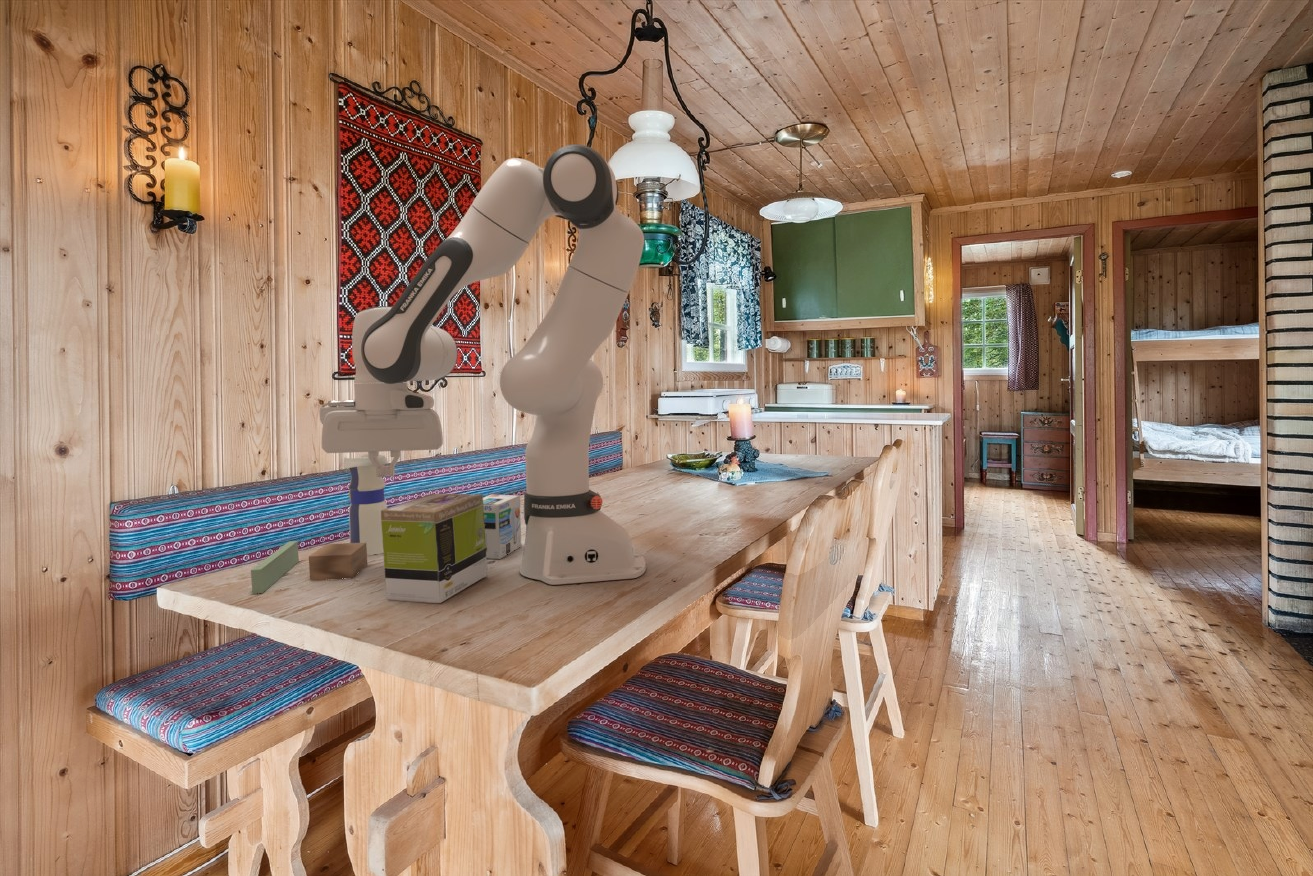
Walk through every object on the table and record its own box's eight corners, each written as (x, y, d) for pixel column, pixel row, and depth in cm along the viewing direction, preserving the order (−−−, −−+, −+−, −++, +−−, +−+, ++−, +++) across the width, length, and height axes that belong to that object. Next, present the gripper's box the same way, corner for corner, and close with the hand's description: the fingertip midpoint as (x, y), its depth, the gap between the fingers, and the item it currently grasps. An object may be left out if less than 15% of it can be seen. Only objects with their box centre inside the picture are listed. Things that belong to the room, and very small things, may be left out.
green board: (298, 561, 131) (297, 541, 130) (262, 593, 111) (260, 569, 111) (290, 562, 130) (288, 541, 130) (252, 594, 111) (250, 570, 111)
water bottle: (336, 553, 136) (329, 428, 134) (373, 544, 144) (367, 425, 142) (364, 558, 132) (357, 429, 130) (400, 548, 140) (394, 426, 137)
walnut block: (367, 566, 128) (366, 542, 128) (352, 580, 119) (351, 554, 119) (328, 568, 127) (326, 544, 127) (310, 582, 118) (308, 556, 118)
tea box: (437, 573, 121) (434, 491, 120) (488, 577, 119) (485, 493, 118) (383, 600, 107) (378, 507, 106) (440, 605, 104) (436, 509, 103)
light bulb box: (500, 560, 130) (498, 504, 129) (468, 558, 132) (465, 503, 131) (522, 546, 141) (521, 494, 140) (492, 545, 142) (490, 493, 141)
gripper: (314, 401, 117) (318, 481, 118) (439, 398, 121) (442, 476, 122) (323, 400, 123) (327, 476, 124) (442, 397, 127) (445, 471, 129)
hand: (385, 476), depth 123 cm, fingers closed
